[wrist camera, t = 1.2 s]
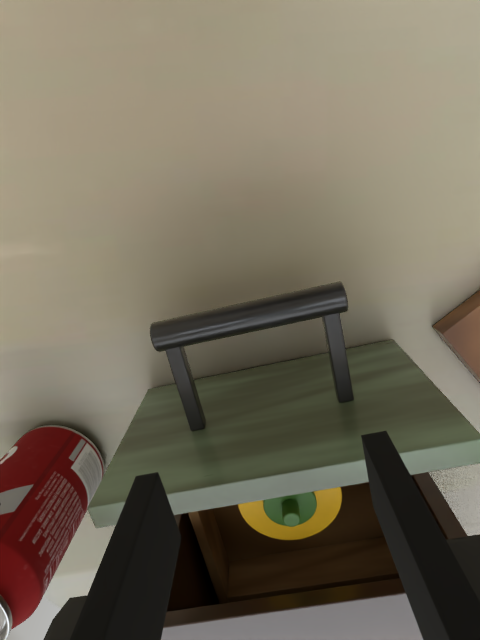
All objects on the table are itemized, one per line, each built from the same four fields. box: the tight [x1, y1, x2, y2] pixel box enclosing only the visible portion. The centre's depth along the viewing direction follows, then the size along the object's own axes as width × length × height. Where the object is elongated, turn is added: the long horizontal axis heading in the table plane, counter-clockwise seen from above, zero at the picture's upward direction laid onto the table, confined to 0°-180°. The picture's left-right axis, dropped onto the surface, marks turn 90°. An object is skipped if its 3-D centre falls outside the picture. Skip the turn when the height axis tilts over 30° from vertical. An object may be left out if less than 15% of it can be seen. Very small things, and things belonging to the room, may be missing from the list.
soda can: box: [0, 425, 104, 640], centre depth 25 cm, size 7×7×12 cm
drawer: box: [87, 282, 480, 604], centre depth 24 cm, size 22×17×11 cm
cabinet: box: [161, 472, 467, 640], centre depth 27 cm, size 16×17×12 cm
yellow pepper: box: [238, 487, 342, 540], centre depth 24 cm, size 6×6×8 cm
